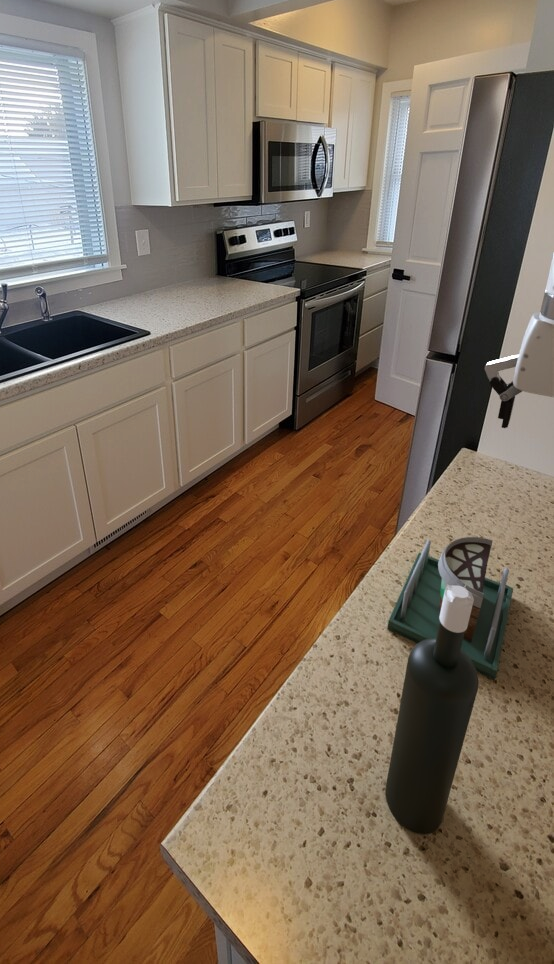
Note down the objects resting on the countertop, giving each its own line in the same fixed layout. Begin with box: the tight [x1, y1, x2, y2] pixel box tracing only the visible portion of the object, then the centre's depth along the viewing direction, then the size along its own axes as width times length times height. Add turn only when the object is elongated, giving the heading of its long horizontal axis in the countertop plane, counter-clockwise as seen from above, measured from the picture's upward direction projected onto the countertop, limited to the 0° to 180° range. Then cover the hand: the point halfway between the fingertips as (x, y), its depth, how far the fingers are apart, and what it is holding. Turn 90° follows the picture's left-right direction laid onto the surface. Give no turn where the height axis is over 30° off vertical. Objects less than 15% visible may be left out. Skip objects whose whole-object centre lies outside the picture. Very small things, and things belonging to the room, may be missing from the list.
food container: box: [438, 536, 494, 642], centre depth 70 cm, size 12×6×10 cm, turn 148°
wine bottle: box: [384, 584, 479, 835], centre depth 45 cm, size 6×6×30 cm
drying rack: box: [386, 539, 514, 681], centre depth 71 cm, size 14×16×7 cm
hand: (545, 432), depth 65 cm, fingers open, 9 cm apart
